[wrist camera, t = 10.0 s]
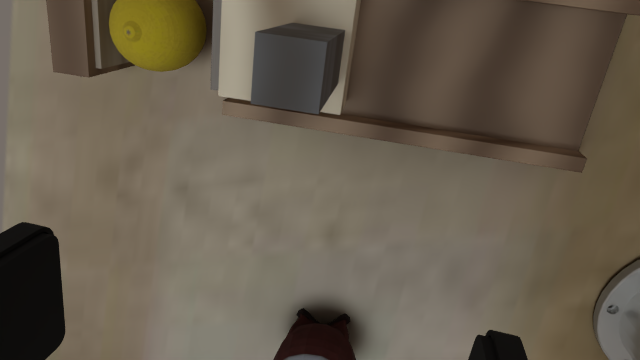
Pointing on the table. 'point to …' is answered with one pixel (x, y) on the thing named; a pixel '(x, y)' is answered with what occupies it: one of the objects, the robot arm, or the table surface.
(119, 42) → the lemon
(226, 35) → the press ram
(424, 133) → the press bed
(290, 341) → the mate gourd
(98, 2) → the open brown box
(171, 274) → the table surface
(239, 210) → the table surface
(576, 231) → the table surface
